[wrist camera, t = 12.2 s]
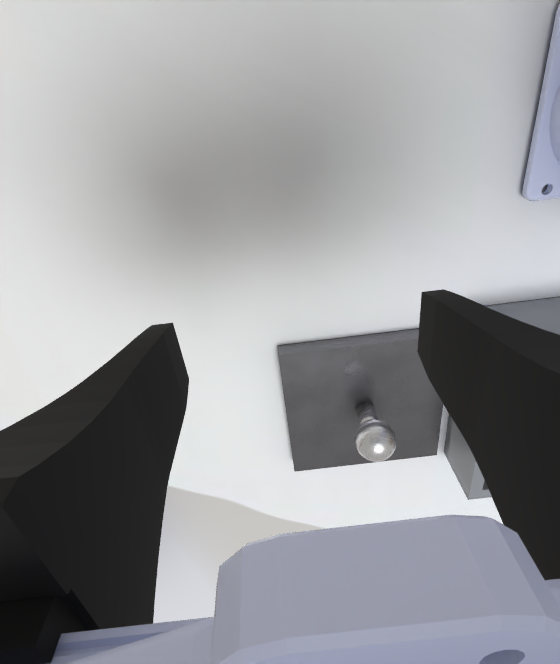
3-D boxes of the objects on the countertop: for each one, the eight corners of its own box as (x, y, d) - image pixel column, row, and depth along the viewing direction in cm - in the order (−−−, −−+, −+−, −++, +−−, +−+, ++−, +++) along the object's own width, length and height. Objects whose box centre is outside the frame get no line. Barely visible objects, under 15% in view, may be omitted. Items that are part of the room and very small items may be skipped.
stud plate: (444, 325, 24) (483, 374, 20) (431, 444, 30) (459, 502, 25) (277, 345, 25) (281, 398, 20) (293, 460, 30) (299, 520, 26)
